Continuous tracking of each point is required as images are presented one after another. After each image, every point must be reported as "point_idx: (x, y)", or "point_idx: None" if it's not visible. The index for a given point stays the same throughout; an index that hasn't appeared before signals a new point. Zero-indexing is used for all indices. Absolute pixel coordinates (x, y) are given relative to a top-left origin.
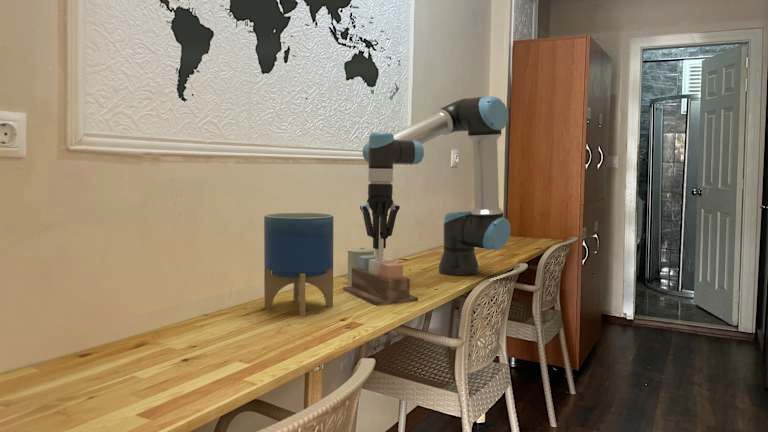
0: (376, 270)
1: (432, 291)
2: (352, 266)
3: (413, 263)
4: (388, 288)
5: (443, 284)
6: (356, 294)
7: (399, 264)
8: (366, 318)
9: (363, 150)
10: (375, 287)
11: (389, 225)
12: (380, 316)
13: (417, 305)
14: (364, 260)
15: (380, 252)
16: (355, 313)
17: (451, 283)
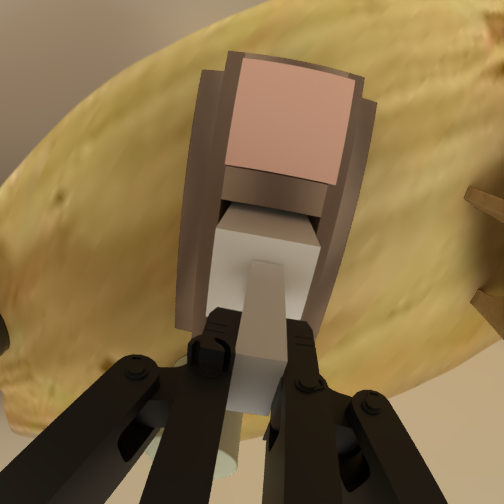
0: (310, 229)
1: (80, 176)
2: (239, 419)
3: (39, 411)
4: None
5: (25, 240)
6: (340, 258)
7: (252, 81)
8: (463, 31)
9: None
10: None
11: (100, 463)
12: (427, 15)
13: (250, 26)
14: None
15: (273, 287)
16: (465, 83)
17: (9, 238)
